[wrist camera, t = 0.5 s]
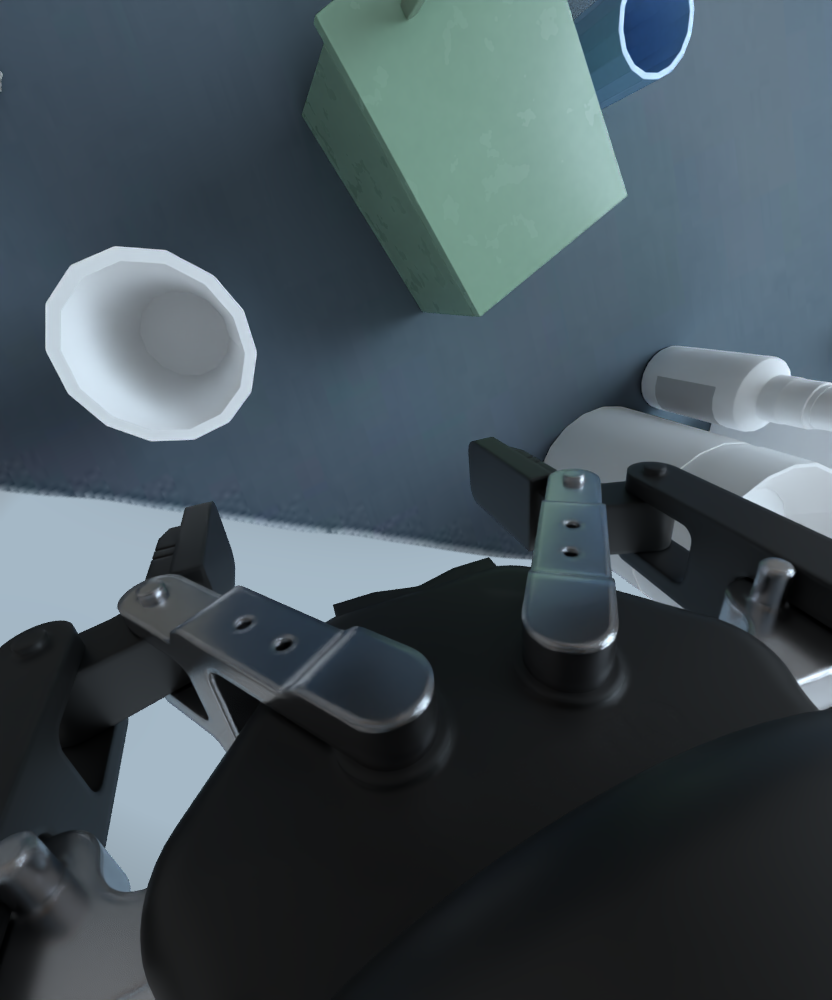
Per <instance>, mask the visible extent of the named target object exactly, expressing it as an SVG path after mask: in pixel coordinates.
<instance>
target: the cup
mask: <svg viewBox="0 0 832 1000" xmlns="http://www.w3.org/2000/svg"><path fill="white" fill-rule="evenodd" d="M693 17H694V2H693V0H597V1H595V2H594V3H593V4H592V5H591V6H590V7H588V8H587V9H586V10H585V11H584V12H582V13H581V14H580V15H579V16H578V17H576V18H575V19H574V20H573V21H574V24H575V28H576V31H577V34H578V37H579V41H580V44H581V47H582V50H583V53H584V57H585V60H586V63H587V66H588V70H589V73H590V76H591V79H592V83H593V86H594V89H595V92H596V95H597V99H598V102H599V105H600V108H601V110H602V109H604V108H606V107H607V106H609V105H611V104H613V103H615V102H617V101H619V100H621V99H623V98H625V97H626V96H628V95H630V94H632V93H634V92H636V91H638V90H640V89H642V88H644V87H645V86H647V85H649V84H651V83H653V82H655V81H657V80H659V79H660V78H662V77H664V76H665V75H667V74H669V73H670V72H671V71H672V70H673V69H674V68H675V66H676V65H677V64H678V62H679V61H680V59H681V58H682V57H683V55H684V52H685V50H686V47H687V45H688V42H689V39H690V37H691V33H692V25H693Z"/></svg>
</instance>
